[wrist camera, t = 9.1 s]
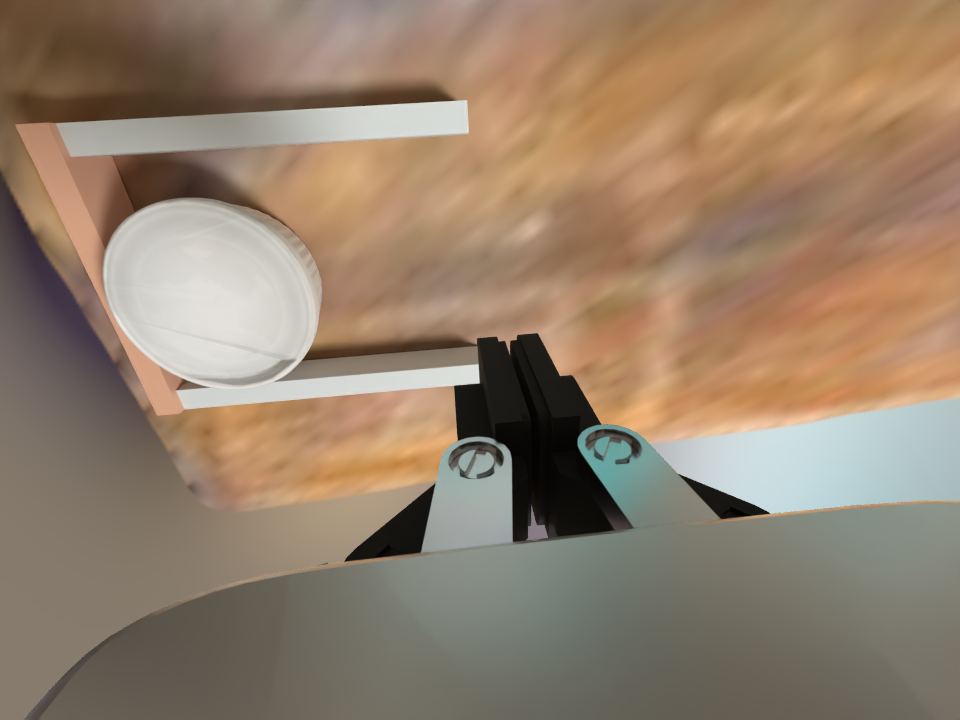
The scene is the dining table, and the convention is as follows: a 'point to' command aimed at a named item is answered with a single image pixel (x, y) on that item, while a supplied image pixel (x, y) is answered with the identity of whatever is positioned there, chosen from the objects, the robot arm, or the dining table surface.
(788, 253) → the dining table surface
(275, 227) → the ramekin
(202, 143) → the bay
